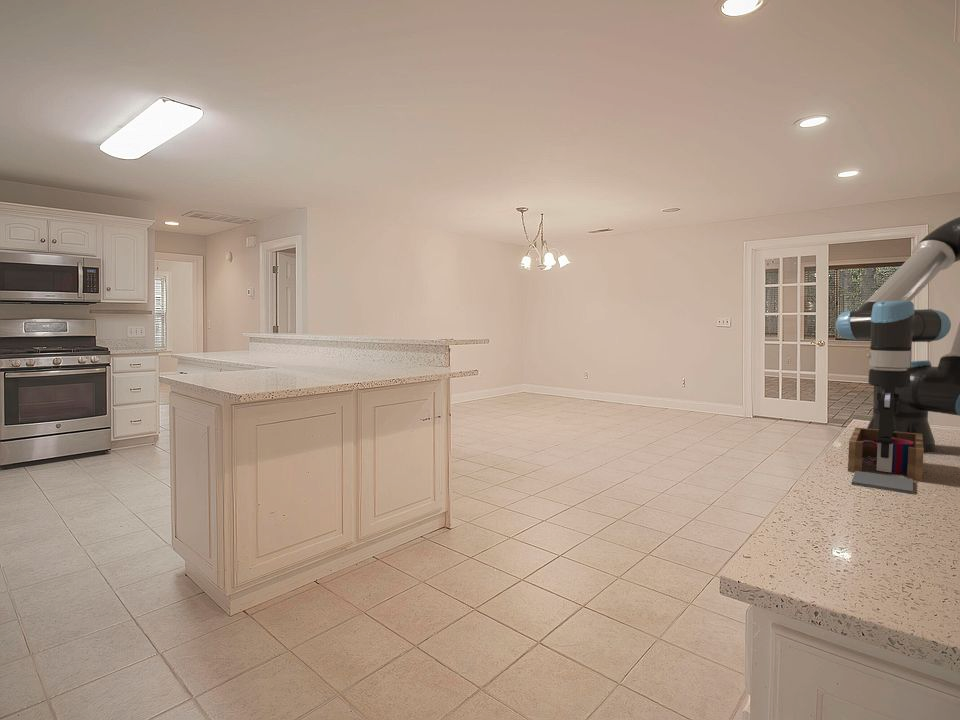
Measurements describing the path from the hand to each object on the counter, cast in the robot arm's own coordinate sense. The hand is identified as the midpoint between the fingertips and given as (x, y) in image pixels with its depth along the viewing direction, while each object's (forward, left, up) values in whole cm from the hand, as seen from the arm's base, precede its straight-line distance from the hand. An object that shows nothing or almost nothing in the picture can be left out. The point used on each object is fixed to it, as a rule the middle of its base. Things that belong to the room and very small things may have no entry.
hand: (884, 467), depth 121 cm
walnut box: (-2, -1, 0) cm, 2 cm away
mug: (0, 0, 0) cm, 1 cm away
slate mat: (+12, +5, 0) cm, 13 cm away
